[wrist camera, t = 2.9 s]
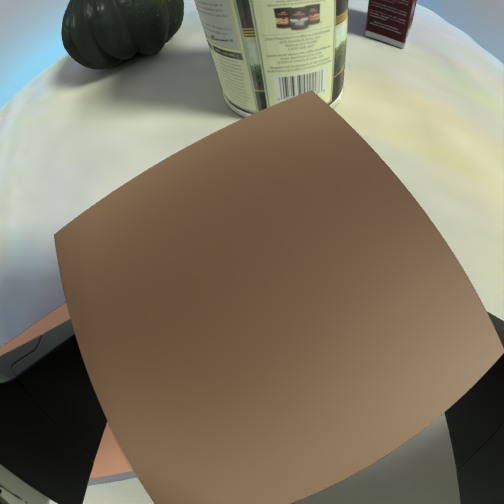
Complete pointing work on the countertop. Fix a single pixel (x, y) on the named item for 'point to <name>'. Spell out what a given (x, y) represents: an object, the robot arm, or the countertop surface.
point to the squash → (118, 29)
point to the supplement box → (390, 20)
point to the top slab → (109, 450)
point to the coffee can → (276, 49)
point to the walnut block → (269, 311)
